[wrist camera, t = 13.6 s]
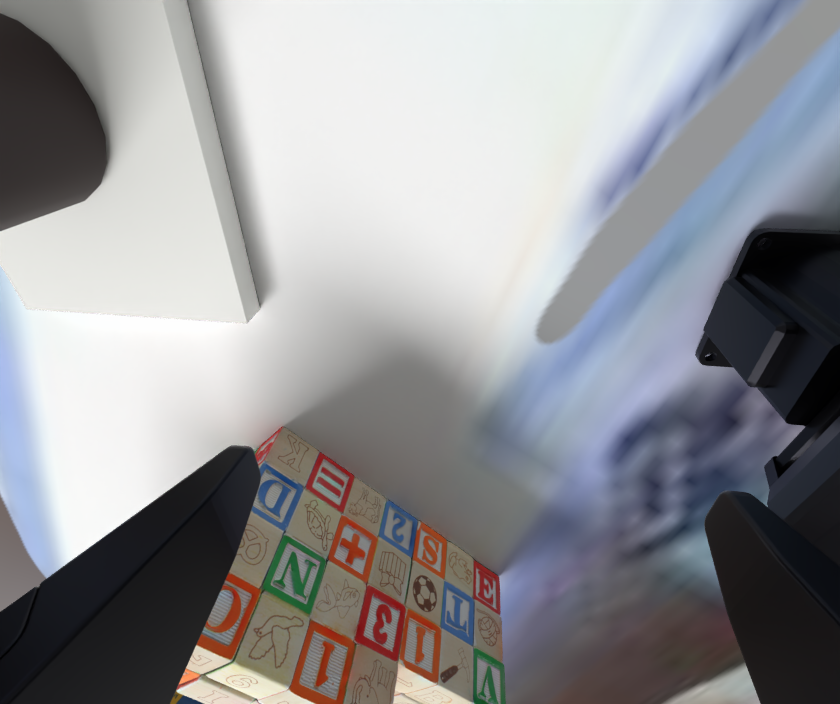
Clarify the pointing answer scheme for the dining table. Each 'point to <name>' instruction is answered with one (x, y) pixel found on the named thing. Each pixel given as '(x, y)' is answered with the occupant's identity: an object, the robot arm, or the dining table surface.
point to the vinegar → (43, 130)
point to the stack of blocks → (345, 600)
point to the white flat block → (136, 176)
